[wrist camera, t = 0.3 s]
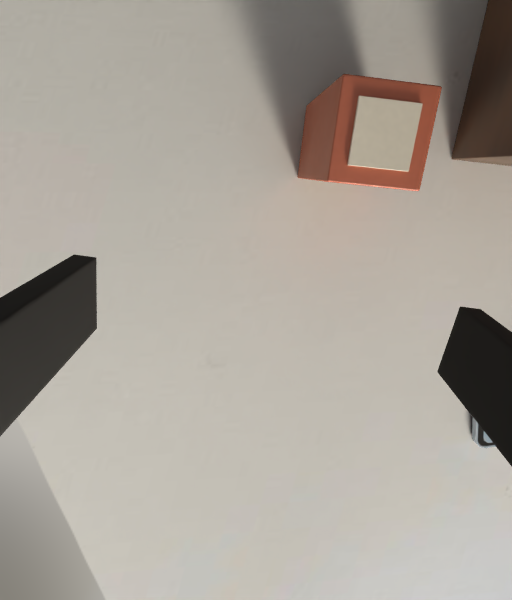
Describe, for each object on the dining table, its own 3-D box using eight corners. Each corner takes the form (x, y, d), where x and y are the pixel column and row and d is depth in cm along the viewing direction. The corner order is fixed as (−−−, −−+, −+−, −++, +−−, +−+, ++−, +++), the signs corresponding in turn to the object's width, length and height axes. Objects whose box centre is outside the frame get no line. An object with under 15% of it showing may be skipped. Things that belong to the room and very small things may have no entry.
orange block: (306, 105, 29) (344, 72, 19) (374, 113, 29) (444, 85, 19) (297, 177, 30) (327, 181, 20) (361, 184, 31) (421, 191, 21)
